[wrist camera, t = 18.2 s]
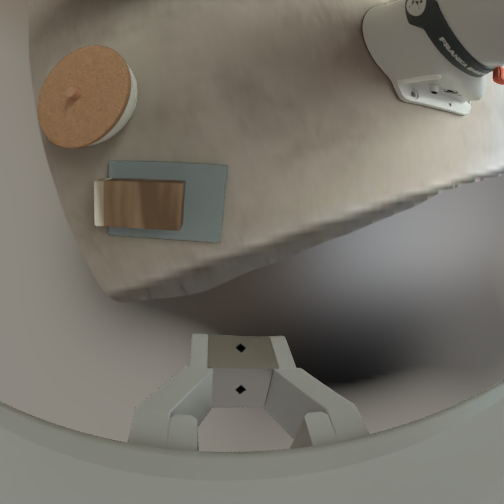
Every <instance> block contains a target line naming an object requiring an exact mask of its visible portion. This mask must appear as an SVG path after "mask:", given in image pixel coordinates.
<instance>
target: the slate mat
mask: <svg viewBox="0 0 504 504" xmlns="http://www.w3.org/2000/svg"><path fill="white" fill-rule="evenodd" d="M227 170H228V166H224V165H212V164H198V163H181V162H157V161H109V177H108V178H133V179H162V180H181V181H186V185H185V199H184V216H183V225H182V227H181V229H180V231H173V230H158V229H142V228H126V227H109V226H108V228H109V235H115V236H130V237H145V238H160V239H174V240H189V241H203V242H217V243H221V231H222V220H223V209H224V199H225V189H226V179H227Z"/></svg>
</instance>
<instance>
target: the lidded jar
mask: <svg viewBox="0 0 504 504" xmlns="http://www.w3.org/2000/svg"><path fill="white" fill-rule="evenodd" d="M137 96H138V89H137V82H136V79H135V76H134V74H133V72H132V70H131V68H130V67H129V66H128V64H127V63H126V62H125V60H124V59H123V58H122V57H121V56H120V55H119V54H118V53H117V52H115V51H114V50H113V49H110V48H108V47H104V46H88V47H84V48H81V49H78V50H76V51H74V52H72V53H71V54H69V55H68V56H66V57H65V58H64V59H62V60H61V61H60V62H59V63H58V64H57V65H56V66H55V67H54V68H53V70H52V71H51V72H50V74H49V75H48V77H47V79H46V81H45V83H44V85H43V87H42V89H41V93H40V96H39V102H38V119H39V123H40V127H41V129H42V131H43V133H44V134H45V136H46V137H47V138H48V139H49V140H50V141H51V142H52V143H54V144H55V145H57V146H59V147H62V148H68V149H69V148H81V147H86V146H91V145H95V144H98V143H101V142H104V141H106V140H107V139H109V138H111V137H113V136H114V135H115V134H117V133H118V132H119V131H120V130H121V129H122V128H123V127H124V126H125V125H126V123H127V122H128V121H129V119H130V117H131V116H132V114H133V111H134V109H135V106H136V102H137Z"/></svg>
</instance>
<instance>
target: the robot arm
mask: <svg viewBox="0 0 504 504" xmlns="http://www.w3.org/2000/svg"><path fill="white" fill-rule="evenodd" d="M363 35H364V40H365V43H366V45H367V48H368V50H369V52H370V54H371V56H372V57H373V59H374V60H375V62H376V63H377V64H378V66H379V67H380V68H381V69H382V70H383V72H384V73H385V74H386V75H387V76H388V77H389V79H390V80H391V82H392V84H393V86H394V89H395V91H396V93H397V95H398V97H399V98H400V99H401V100H402V101H404V102H408V103H413V104H418V105H423V106H427V107H431V108H436V109H440V110H444V111H447V112H451V113H455V114H458V115H462V116H464V115H468V113H469V112H470V110H471V107H472V103H473V101H477V100H480V99H481V98H482V97H483V96H484V93H485V90H486V80H487V74H488V73H489V72H491V71H493V81H494V82H496V83H498V84H501V85H504V69H503V68H502V67H501V66H504V0H395V1H393V2H390V3H387V4H383V5H379V6H375V7H373V8H371V9H370V10H369V11H368V12H367V13H366V15H365V17H364V20H363ZM411 93H412V95H411ZM214 407H215V408H221V407H222V408H226V407H227V408H232V407H243V408H245V407H246V408H264V409H265V410H266V411H267V412H268V413H269V414H270V415H271V416H272V417H273V419H274V420H275V421H276V422H277V423H278V424H279V425H280V426H281V427H282V428H283V429H284V430H285V431H286V432H287V433H288V434H289V435H290V436H291V437H292V438H293V439H294V441H293V443H292V445H291V447H290V449H282V450H270V451H252V452H251V451H250V452H207V451H199V447H198V426H199V425H200V424H201V422H202V421H203V420H204V418H205V417H206V416H207V414H208V413H209V412H210V410H211V408H214ZM0 504H504V380H502V381H500V382H499V383H497V384H495V385H493V386H492V387H490V388H488V389H486V390H484V391H483V392H481V393H479V394H477V395H475V396H473V397H470V398H468V399H467V400H464V401H462V402H460V403H458V404H456V405H453V406H451V407H449V408H447V409H444V410H442V411H439V412H437V413H434V414H432V415H429V416H426V417H424V418H421V419H418V420H416V421H413V422H410V423H407V424H404V425H401V426H398V427H394V428H391V429H387V430H384V431H381V432H377V433H373V434H369V432H368V430H367V428H366V426H365V424H364V421H363V419H362V418H361V415H360V414H359V411H358V409H357V407H356V405H354V404H353V403H351V402H349V401H348V400H346V399H345V398H343V397H342V396H340V395H339V394H337V393H336V392H334V391H333V390H331V389H330V388H328V387H327V386H325V385H324V384H322V383H321V382H320V381H318V380H317V379H315V378H314V377H312V376H311V375H310V374H308V373H307V372H305V371H304V370H303V369H301V368H296V366H295V363H294V361H293V358H292V355H291V352H290V349H289V347H288V344H287V341H286V338H285V337H284V336H269V337H244V336H243V337H241V336H228V335H213V334H209V335H208V334H198V333H193V334H192V337H191V347H190V356H189V367H183V368H182V369H180V370H179V371H178V372H177V373H176V374H175V375H174V376H172V377H171V378H170V379H169V380H168V381H167V382H165V383H164V384H163V385H162V386H161V387H159V388H158V389H157V390H156V391H155V392H154V393H152V394H151V395H150V396H149V397H148V398H146V399H145V400H144V401H143V402H142V403H140V404H139V405H138V406H137V407H136V408H135V411H134V415H133V420H132V424H131V429H130V434H129V438H128V443H126V442H121V441H116V440H112V439H107V438H103V437H98V436H94V435H91V434H86V433H83V432H80V431H76V430H73V429H69V428H66V427H63V426H60V425H57V424H54V423H51V422H48V421H46V420H43V419H40V418H37V417H35V416H32V415H30V414H27V413H25V412H22V411H20V410H18V409H16V408H14V407H11V406H9V405H7V404H5V403H3V402H1V401H0Z"/></svg>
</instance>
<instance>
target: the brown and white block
mask: <svg viewBox="0 0 504 504" xmlns="http://www.w3.org/2000/svg"><path fill="white" fill-rule="evenodd" d="M185 185H186V181H181V180H162V179H133V178H103V179H100V180H96V181H94V219H95V226H109V227H126V228H142V229H158V230H173V231H180V229H181V227H182V225H183V216H184V199H185Z"/></svg>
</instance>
